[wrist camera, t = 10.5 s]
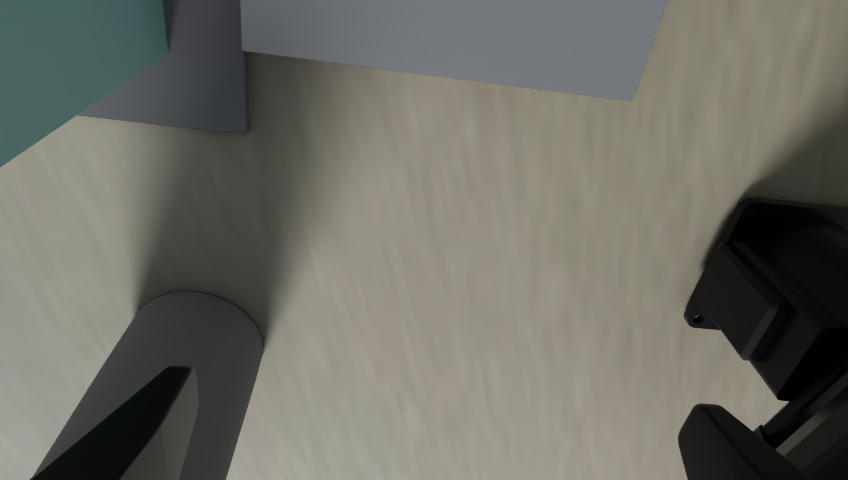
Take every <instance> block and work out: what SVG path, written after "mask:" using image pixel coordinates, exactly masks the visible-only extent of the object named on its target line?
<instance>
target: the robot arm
mask: <svg viewBox="0 0 848 480" xmlns="http://www.w3.org/2000/svg"><path fill="white" fill-rule="evenodd" d="M752 208H755V209H754V210H753V212H751V213H749V214H748V212H749V211H750V210H751V209H752ZM698 315H699V316H698ZM696 316H698V317H696ZM695 317H696V318H695ZM684 318H685V320H686V322H687V323H688V325H690V326H691V327H694V328H703V329H715V330H721V331H722V332H723V334H724V335H725V337H726V338H727V339H728V341H729V342H730V343H731V345H732V346H733V348H734V349H735V350H736V352H737V353H738V354H739V356H740V357H741V358H742V359H743V360H747V361H750V363H751V364H752V365H753V367H754V368H755V369H756V371H757V372H758V373H759V375H760V376H761V377H762V379H763V380H764V381H765V383H766V384H767V386H768V387H769V388H770V390H771V391H772V392H773V394H774V395H775V396H776V398H777V399H778V400H781V401H789V402H788V403H787V404H786V405H785V406H784V407H783V408H782V409H781V410H780V411H779V412H778V413H776V414H775V415H774V416H773V417H772V418H771V419H770V420H769V421H768V422H767V423H766V424H765V425H764V426H763V425H760V426H759V427H757V428H756V429H755V430H754V431H751V430H750V429H749V428H748V427H747V426H745V425H744V424H743V423H742V422H740V421H739V420H738V419H737V418H735V417H734V416H733V415H732V414H730V413H729V412H728V411H727V410H725V409H724V408H723V407H721V406H719V405H713V404H697V405H695V406H694V407H693V409H692V410H691V412H690V414H689V416H688V417H687V419H686V421H685V422H684V424H683V426H682V428H681V429H680V432H679V435H678V444H679V448H680V452H681V456H682V460H683V464H684V467H685V471H686V475H687V479H688V480H848V208H843V207H834V206H826V205H817V204H808V203H800V202H791V201H782V200H773V199H765V198H756V197H751V198H747V199H745V200H743V201H742V202H741V203H740V204H739V205H738V206H737V208H736V210H735V212H734V214H733V216H732V218H731V220H730V222H729V224H728V226H727V228H726V230H725V232H724V234H723V236H722V238H721V240H720V242H719V244H718V246H717V248H716V250H715V252H714V254H713V256H712V258H711V260H710V262H709V264H708V266H707V268H706V270H705V272H704V274H703V276H702V278H701V280H700V282H699V284H698V286H697V288H696V290H695V293H694V295H693V297H692V299H691V301H690V303H689V305H688V307H687V309H686V311H685V313H684ZM198 406H199V397H198V388H197V379H196V372H195V369H194V368H193V367H191V366H180V365H170V366H167V367H165V368H164V369H163V370H162V371H160V372H159V373H158V374H157V375H156V376H154V377H153V378H152V379H151V380H150V381H148V382H147V383H146V384H145V385H144V386H142V387H141V388H140V389H139V390H138V391H136V392H135V393H134V394H133V395H131V396H130V397H129V398H128V399H127V400H125V401H124V402H123V403H122V404H121V405H119V406H118V407H117V408H116V409H115V410H113V411H112V412H111V413H110V414H108V415H107V416H106V417H105V418H104V419H102V420H101V421H100V422H99V423H98V424H96V425H95V426H94V427H93V428H92V429H90V430H89V431H88V432H87V433H86V434H84V435H83V436H82V437H81V438H79V439H78V440H77V441H76V442H75V443H73V444H72V445H71V446H70V447H69V448H67V449H66V450H65V451H64V452H63V453H61V454H60V455H59V456H58V457H56V458H55V459H54V460H53V461H52V462H50V463H49V464H48V465H47V466H46V467H44V468H43V469H42V470H41V471H40V472H38V473H37V474H36V475H35V476H34V477H32V478H31V479H30V480H179V477H180V474H181V470H182V467H183V463H184V459H185V456H186V452H187V449H188V445H189V441H190V438H191V434H192V430H193V427H194V423H195V420H196V416H197V412H198Z"/></svg>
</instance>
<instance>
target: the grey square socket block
mask: <svg viewBox="0 0 848 480" xmlns="http://www.w3.org/2000/svg"><path fill="white" fill-rule="evenodd" d="M240 3H241V32H242V51H248V52H255V53H263V54H271V55H278V56H286V57H294V58H301V59H309V60H317V61H324V62H332V63H340V64H347V65H355V66H363V67H370V68H378V69H386V70H394V71H401V72H409V73H417V74H424V75H432V76H440V77H447V78H455V79H463V80H470V81H478V82H486V83H493V84H501V85H509V86H516V87H524V88H532V89H539V90H547V91H555V92H563V93H570V94H578V95H586V96H593V97H601V98H609V99H616V100H624V101H632V102H633V99H634V96H635V93H636V90H637V88H638V85H639V82H640V79H641V76H642V73H643V70H644V67H645V64H646V61H647V59H648V56H649V53H650V50H651V47H652V44H653V41H654V38H655V35H656V32H657V29H658V27H659V24H660V21H661V18H662V15H663V12H664V9H665V6H666V3H667V0H240Z"/></svg>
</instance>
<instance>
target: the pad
mask: <svg viewBox="0 0 848 480" xmlns="http://www.w3.org/2000/svg"><path fill="white" fill-rule="evenodd" d="M162 1H163V10H164V19H165V27H166V36H167V45H168V53H167V54H166V55H164V56H163V57H161V58H160V59H158V60H157V61H156V62H154V63H153V64H151V65H150V66H148V67H147V68H145V69H144V70H142V71H141V72H139V73H138V74H136V75H135V76H134V77H132V78H131V79H129V80H128V81H126V82H125V83H123V84H122V85H120V86H119V87H117V88H116V89H114V90H113V91H111V92H110V93H109V94H107V95H106V96H104V97H103V98H101V99H100V100H98V101H97V102H95V103H94V104H92V105H91V106H89V107H88V108H87V109H85V110H84V111H82V112H81V113H79V114H78V115H79V116H88V117H97V118H105V119H114V120H123V121H131V122H140V123H149V124H157V125H166V126H175V127H183V128H192V129H201V130H209V131H218V132H227V133H235V134H244V135H246V134H247V132H248V99H247V67H246V51H242V32H241V3H240V0H162Z"/></svg>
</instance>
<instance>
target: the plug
mask: <svg viewBox="0 0 848 480" xmlns="http://www.w3.org/2000/svg"><path fill="white" fill-rule="evenodd" d="M167 53H168V45H167V36H166V27H165V19H164V10H163V1H162V0H0V167H1V166H3V165H4V164H6V163H7V162H9V161H10V160H12V159H13V158H15V157H16V156H17V155H19V154H20V153H22V152H23V151H25V150H26V149H28V148H29V147H31V146H32V145H34V144H35V143H37V142H38V141H39V140H41V139H42V138H44V137H45V136H47V135H48V134H50V133H51V132H53V131H54V130H56V129H57V128H59V127H60V126H62V125H63V124H64V123H66V122H67V121H69V120H70V119H72V118H73V117H75V116H76V115H78V114H79V113H81V112H82V111H84V110H85V109H87V108H88V107H89V106H91V105H92V104H94V103H95V102H97V101H98V100H100V99H101V98H103V97H104V96H106V95H107V94H109V93H110V92H111V91H113V90H114V89H116V88H117V87H119V86H120V85H122V84H123V83H125V82H126V81H128V80H129V79H131V78H132V77H134V76H135V75H136V74H138V73H139V72H141V71H142V70H144V69H145V68H147V67H148V66H150V65H151V64H153V63H154V62H156V61H157V60H158V59H160V58H161V57H163V56H164V55H166V54H167Z"/></svg>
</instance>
